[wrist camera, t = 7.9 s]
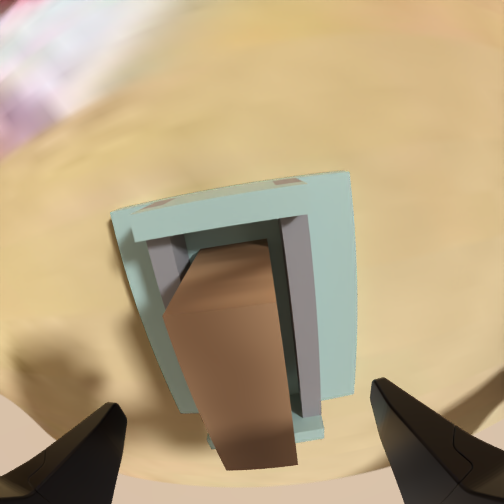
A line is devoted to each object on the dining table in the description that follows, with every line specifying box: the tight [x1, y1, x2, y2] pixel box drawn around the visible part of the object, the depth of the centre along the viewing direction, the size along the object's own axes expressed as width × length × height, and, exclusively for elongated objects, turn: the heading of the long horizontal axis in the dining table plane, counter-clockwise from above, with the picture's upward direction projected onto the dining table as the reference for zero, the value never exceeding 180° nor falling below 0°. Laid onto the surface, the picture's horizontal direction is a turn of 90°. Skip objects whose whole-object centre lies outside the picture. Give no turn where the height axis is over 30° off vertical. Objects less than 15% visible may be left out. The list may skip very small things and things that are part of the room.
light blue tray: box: [110, 171, 357, 449], centre depth 13 cm, size 11×13×4 cm
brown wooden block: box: [162, 238, 298, 470], centre depth 11 cm, size 3×8×6 cm, turn 9°
